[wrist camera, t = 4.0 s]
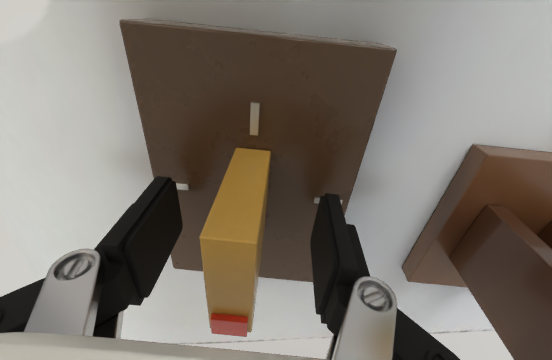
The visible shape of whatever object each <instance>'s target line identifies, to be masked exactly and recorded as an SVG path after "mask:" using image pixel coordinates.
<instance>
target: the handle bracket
mask: <svg viewBox="0 0 552 360" xmlns="http://www.w3.org/2000/svg"><path fill="white" fill-rule="evenodd" d="M402 269H403V271H404V274H405V276H406V278H407V281H409V282H418V283H428V284H438V285H448V286H458V287H468V289H469V290H470V292H471V293H472V295H473V296H474V298H475V300H476V301H477V303H478V304H479V306H480V307H481V309H482V310H483V312H484V314H485V315H486V317H487V318H488V320H489V321H490V323H491V324H492V326H493V328H494V329H495V331H496V332H497V334H498V335H499V337H500V338H501V340H502V341H503V343H504V345H505V346H506V348H507V349H508V351H509V352H510V354H511V356H512V357H513V359H514V360H552V153H551V152H541V151H531V150H521V149H512V148H502V147H492V146H483V145H473V146H472V147H471V149H470V151H469V153H468V154H467V156H466V158H465V159H464V161H463V163H462V165H461V166H460V168H459V170H458V171H457V173H456V175H455V177H454V178H453V180H452V182H451V184H450V185H449V187H448V189H447V190H446V192H445V194H444V196H443V197H442V199H441V201H440V203H439V204H438V206H437V208H436V209H435V211H434V213H433V215H432V216H431V218H430V220H429V221H428V223H427V225H426V227H425V228H424V230H423V232H422V234H421V235H420V237H419V239H418V240H417V242H416V244H415V246H414V247H413V249H412V251H411V253H410V254H409V256H408V258H407V259H406V261H405V263H404V265H403V266H402Z"/></svg>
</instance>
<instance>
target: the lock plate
mask: <svg viewBox="0 0 552 360" xmlns="http://www.w3.org/2000/svg"><path fill="white" fill-rule="evenodd" d="M120 27H121V32H122V36H123V41H124V45H125V50H126V54H127V59H128V63H129V68H130V72H131V77H132V81H133V86H134V90H135V95H136V99H137V104H138V109H139V113H140V118H141V122H142V127H143V131H144V136H145V140H146V145H147V149H148V154H149V158H150V163H151V167H152V172H153V177H154V179H155V178H156V177H157V176H162V177H170V178H172V181H175V182H176V186H177V192H178V198H179V204H180V210H181V216H182V222H183V228H182V232H181V234H180V236H179V238H178V240H177V242H176V244H175V246H174V248H173V250H172V252H171V258H172V263H173V267H174V268H175V269H185V270H195V271H203V263H202V255H201V246H200V238H199V237H200V235H201V232H202V230H203V227H204V225H205V222H206V220H207V218H208V215H209V213H210V210H211V208H212V205H213V203H214V201H215V198H216V196H217V193H218V191H219V188H220V186H221V183H222V181H223V179H224V176H225V174H226V171H227V169H228V166H229V164H230V162H231V159H232V157H233V154H234V152H235V149H236V148H246V149H256V150H265V151H271V158H270V169H269V181H268V193H267V204H266V216H265V227H264V236H263V244H262V252H261V260H260V268H259V276H258V277H265V278H276V279H286V280H296V281H306V282H313V272H312V260H311V247H310V239H311V234H312V230H313V226H314V221H315V217H316V213H317V209H318V204H319V200H320V197H321V196H325V194H326V193H330V194H338V195H339V198H340V201H341V205H342V209H343V213H344V215H345V212H346V208H347V205H348V202H349V199H350V196H351V193H352V190H353V187H354V183H355V180H356V177H357V174H358V171H359V168H360V165H361V162H362V158H363V155H364V152H365V149H366V146H367V143H368V140H369V137H370V133H371V130H372V127H373V124H374V121H375V118H376V115H377V111H378V108H379V105H380V102H381V99H382V96H383V93H384V90H385V86H386V83H387V80H388V77H389V74H390V71H391V68H392V65H393V61H394V58H395V55H396V52H397V49H395V48H392V47H389V46H386V45H383V44H380V43H371V42H362V41H352V40H343V39H333V38H324V37H314V36H305V35H296V34H286V33H277V32H267V31H258V30H248V29H239V28H229V27H220V26H210V25H201V24H191V23H182V22H172V21H163V20H153V19H126V20H120Z"/></svg>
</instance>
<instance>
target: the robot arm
mask: <svg viewBox="0 0 552 360" xmlns="http://www.w3.org/2000/svg"><path fill="white" fill-rule="evenodd" d="M182 228H183V222H182V216H181V210H180V204H179V198H178V192H177V186H176V182H175V181H172V178H170V177H162V176H157V177H156V178H155V179H154V180H153V181H152V182H151V184H150V185H149V186H148V187H147V188H146V190H145V191H144V192H143V193H142V194H141V196H140V197H139V198H138V199H137V201H136V202H135V203H134V204H132V205H131V206H130V207H129V208H128V209H127V211H126V212H125V213H124V214H123V215H122V217H121V218H120V219H119V220H118V221H117V223H116V224H115V225H114V226H113V227H112V229H111V230H110V231H109V232H108V233H107V235H106V236H105V237H104V238H103V239H102V241H101V242H100V243H99V244H98V245H97V247H96V248H95V249H94V250H93V249H79V250H76V251H72V252H70V253H68V254H66V255H64V256H62V257H61V258H59V259H58V260H57V261H56V262H55V263H54V264H53V265H52V266H51V268H50V269H49V271H48V273H47V276H46V278H44V279H41V280H39V281H37V282H34V283H32V284H30V285H27V286H25V287H23V288H20V289H18V290H16V291H13V292H11V293H9V294H7V295H4V296H2V297H0V360H324V359H317V358H308V357H298V356H288V355H279V354H268V353H259V352H249V351H238V350H229V349H219V348H208V347H198V346H188V345H178V344H167V343H157V342H146V341H135V340H124V339H120V338H121V329H122V320H123V311H124V310H125V309H127V307H128V305H139V306H140V305H141V303H142V301H143V300H144V298H145V297H146V298H147V297H148V296H149V295H150V294H151V292H152V290H153V288H154V286H155V284H156V282H157V280H158V278H159V276H160V274H161V272H162V270H163V268H164V266H165V264H166V262H167V260H168V258H169V256H170V254H171V252H172V250H173V248H174V246H175V244H176V242H177V240H178V238H179V236H180V234H181V232H182ZM310 247H311V260H312V272H313V284H314V296H315V308H316V314H319V315H321V323H323V324H327V328H328V329H329V330H330V331H331V332H332V333H333V335H332V339H331V342H330V345H329V349H328V352H327V356H326V359H325V360H460V359H459V358H458V357H457V356H456V355H455V354H454V353H452V352H451V351H450V350H449V349H448V348H446V347H445V346H444V345H442V344H441V343H440V342H439V341H437V340H436V339H435V338H434V337H432V336H431V335H430V334H429V333H428V332H426V331H425V330H424V329H423V328H421V327H420V326H419V325H418V324H416V323H415V322H414V321H413V320H411V319H410V318H409V317H408V316H406V315H405V314H404V313H403V312H401V311H400V310H399V309H398V308H397V299H396V297H395V294H394V292H393V291H392V290H391V288H390V287H389V286H388V285H387V284H385V283H384V282H383V281H381V280H379V279H377V278H374V277H370V274H369V271H368V268H367V264H366V261H365V258H364V254H363V251H362V248H361V244H360V241H359V238H358V234H357V231H356V228H355V226H354V225H350V224H346V221H345V217H344V213H343V209H342V205H341V201H340V198H339V195H338V194H330V193H326V194H325V196H321V197H320V200H319V204H318V209H317V213H316V217H315V221H314V226H313V230H312V234H311V239H310Z"/></svg>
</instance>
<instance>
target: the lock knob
mask: <svg viewBox="0 0 552 360" xmlns="http://www.w3.org/2000/svg"><path fill="white" fill-rule="evenodd" d="M270 158H271V151H265V150H256V149H246V148H236V149H235V152H234V154H233V157H232V159H231V162H230V164H229V166H228V169H227V171H226V174H225V176H224V179H223V181H222V183H221V186H220V188H219V191H218V193H217V196H216V198H215V201H214V203H213V205H212V208H211V210H210V213H209V215H208V218H207V220H206V222H205V225H204V227H203V230H202V232H201V235H200V237H199V238H200V246H201V255H202V263H203V272H204V280H205V289H206V297H207V306H208V314H209V323H210V328H211V331H212V333H213V334H223V335H233V336H244V337H247V332H251V331H252V324H253V316H254V308H255V300H256V292H257V284H258V276H259V268H260V260H261V252H262V244H263V236H264V227H265V216H266V204H267V193H268V181H269V169H270Z"/></svg>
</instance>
